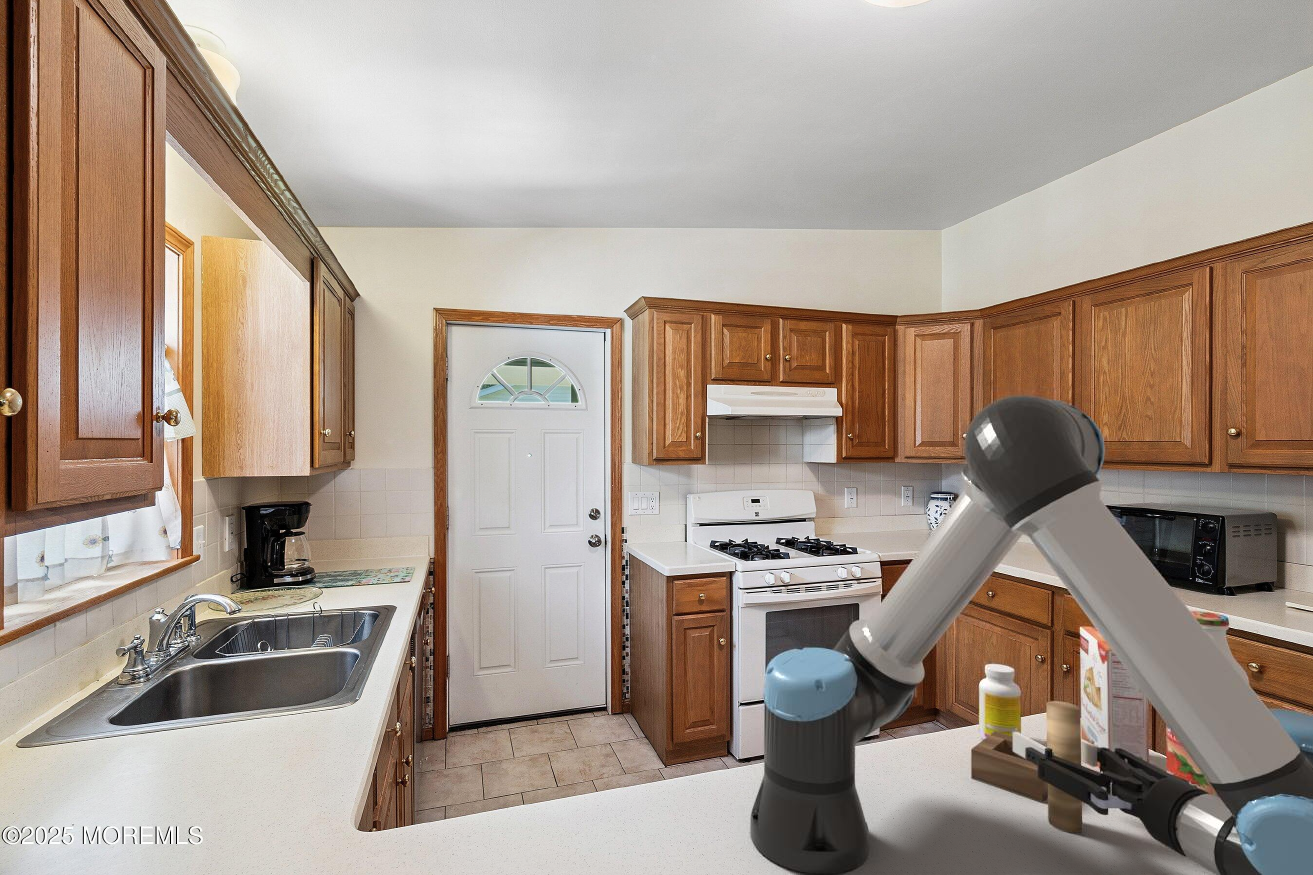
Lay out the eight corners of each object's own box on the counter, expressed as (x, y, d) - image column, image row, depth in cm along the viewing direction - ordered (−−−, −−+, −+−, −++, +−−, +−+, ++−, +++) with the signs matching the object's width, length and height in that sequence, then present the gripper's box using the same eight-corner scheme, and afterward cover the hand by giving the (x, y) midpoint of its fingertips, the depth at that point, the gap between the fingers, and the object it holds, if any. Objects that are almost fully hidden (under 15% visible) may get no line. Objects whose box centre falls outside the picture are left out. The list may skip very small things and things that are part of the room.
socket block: (1042, 802, 97) (1042, 771, 97) (971, 778, 104) (971, 748, 104) (1062, 779, 104) (1062, 750, 104) (994, 758, 111) (994, 731, 111)
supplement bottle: (1028, 749, 115) (1028, 674, 115) (989, 748, 115) (989, 673, 115) (1009, 733, 122) (1009, 662, 122) (972, 732, 122) (972, 661, 122)
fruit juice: (1260, 837, 89) (1258, 626, 89) (1171, 817, 94) (1170, 616, 94) (1243, 806, 97) (1241, 612, 97) (1162, 788, 102) (1161, 604, 102)
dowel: (1077, 835, 89) (1075, 713, 89) (1044, 824, 92) (1042, 706, 92) (1085, 824, 91) (1083, 706, 92) (1053, 813, 94) (1051, 698, 95)
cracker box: (1078, 744, 117) (1078, 624, 118) (1118, 749, 115) (1118, 627, 116) (1105, 781, 104) (1104, 646, 104) (1151, 788, 102) (1150, 650, 102)
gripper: (1129, 872, 72) (978, 772, 94) (1265, 848, 76) (1090, 758, 99) (1129, 801, 72) (978, 718, 94) (1264, 782, 77) (1090, 707, 99)
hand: (1035, 739), depth 97 cm, fingers open, 6 cm apart
